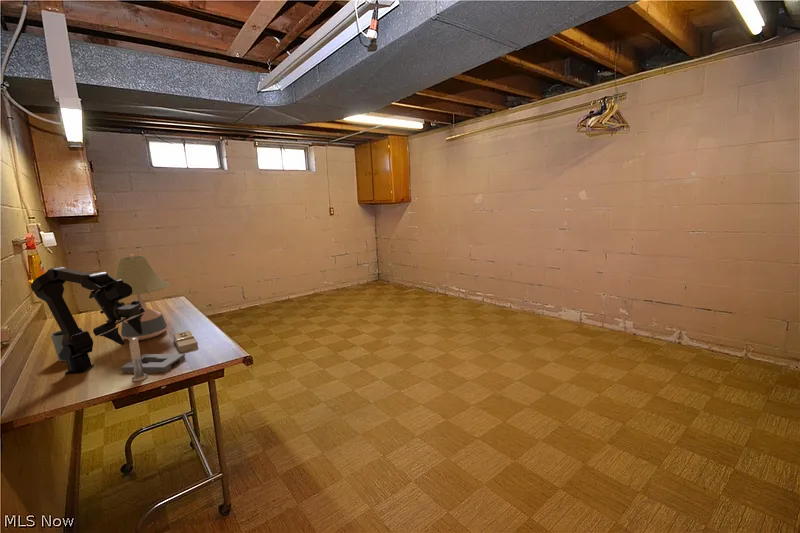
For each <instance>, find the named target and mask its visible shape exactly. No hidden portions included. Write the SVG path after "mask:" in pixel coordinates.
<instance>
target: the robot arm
mask: <svg viewBox="0 0 800 533" xmlns="http://www.w3.org/2000/svg"><path fill="white" fill-rule="evenodd" d="M66 282H71V283H74V284H75V283H76V284H78V285H80V286H81V287H82V288H84V289H86V290H88V291H90V294H89V296H88V299H94V300H95V302H96V303H97V305H98V306H99V308H100V309H101V310H100V311H99V313H100V314H101V315H102V314H104V315H105V317H106V318H107V320H106V321H105V323H103V324H100V325H98V326H96V327H95V328H93V330H92V333H93V334H94V335H95V337H98V336H99V337H104V338H106V339H108V340H110V341H112V342H115V343H117V344H118V345H120V346H125V344H126V343H125V341H124V338H122V335H121V333H119V326H117V325H118V324H122V321H124V320H126V319H129V320H127V322H128V323H129V324H130V325H131V326H132V327H133V329H134V330H135V331H136V332H137V333H139V334H142V327H141V317H142V315H143V314H141V313H143V312H145V310H144V309H143V307H142V306H141V303H140V302H139V301H138V300H137V299H136V300H133V301H131V303H129V304H125V303H124V302H123V301H121V300H123V299H125V298H128V297H130V296H132V295H131V294H132V287H131V286H130V285H129V284H127V283H124V282H123V281H122V280H115V279H114V277H113V276H111V275H110V274H109V273H108V272H106V271H94V272H93V271H92V272H87V271H81V270H77V269H73V268H67V267H66V266H59V267H51V268H50V269H47V271H46V272H45V273H43V274H41V275H39V276H38V277H36V278H35V279H34V280H33V281H32V282H31V284H30V288H31V291H32V292H33V293H34V294H35V296H36V297H37V298H39V299H40V300H42V301H44V302H45V303H46V304H47V306H48V308H49V311H50V312H51V314H52V316H53V317H54V320H55V321H56V323H57V325H58V327H59V329H60V331H62V333H63V339H62V346H63V349H62V351H61V352H60V354H59V357H60V359H61V360H66V366H67V371H66V372H64V374H65V375H71V374H82V373H84V372H86V371H87V370H89V369H92V367H94V364H92V362H91V358H90V356H89V353H92V352H93V347H94V341H93V339H94V338H92V336H91V335H90V332H89V331H88V330H85V331H84V330H83V331H82V330H80V329H79V328H80V327H79V326H78V324H77V322H76V319H75V318H74V316H73V314H72V312H71V310H70V309H69V306H68V304H67V302H66V300H65V298H64V296H63V295H64V292H65V287H64V284H65V283H66Z"/></svg>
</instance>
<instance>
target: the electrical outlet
mask: <svg viewBox="0 0 800 533" xmlns="http://www.w3.org/2000/svg"><path fill="white" fill-rule="evenodd" d="M172 336H173V342H174V344H175V346H176V348H177V350H178V352H179V351H180V352H179V353H183V352H187V351H192V350H195V349H194V348H196V349H198V348H199V345H198V341H197V339H196V338H195V336H194V334H193V333H192V332H191V331H190V330H186V331H180V332H175V333H173V334H172ZM191 349H192V350H191Z"/></svg>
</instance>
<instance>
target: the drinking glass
mask: <svg viewBox="0 0 800 533" xmlns="http://www.w3.org/2000/svg"><path fill="white" fill-rule="evenodd" d="M79 329H80V330H82V331H84V330H83V327H79ZM50 338H51V341H52V343H53V346H54V350H55V353H56V355H57V360H58V361H59V362H60V361H66V360H61V359H60V357H59V354H60V352H61V351H62V349H63V346H62V339H63V333H62V331H61V330H58V331H55V332H53V333H51V334H50Z"/></svg>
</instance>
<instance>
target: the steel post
mask: <svg viewBox="0 0 800 533" xmlns="http://www.w3.org/2000/svg"><path fill="white" fill-rule="evenodd" d="M127 340H128V346H129V352H130V357H131V361H132V364H133V369H134V372H133V374H134V376H132V378H131V381H132V382H134V383H137V382H138V383H139V382H141V381H144V380H147V379H148V373H145V372H143V366H142V364H143V363H142V360H141V356H142V355H141V350H140V343H139V340H138V338H137V337H134V338H130V339H127Z"/></svg>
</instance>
